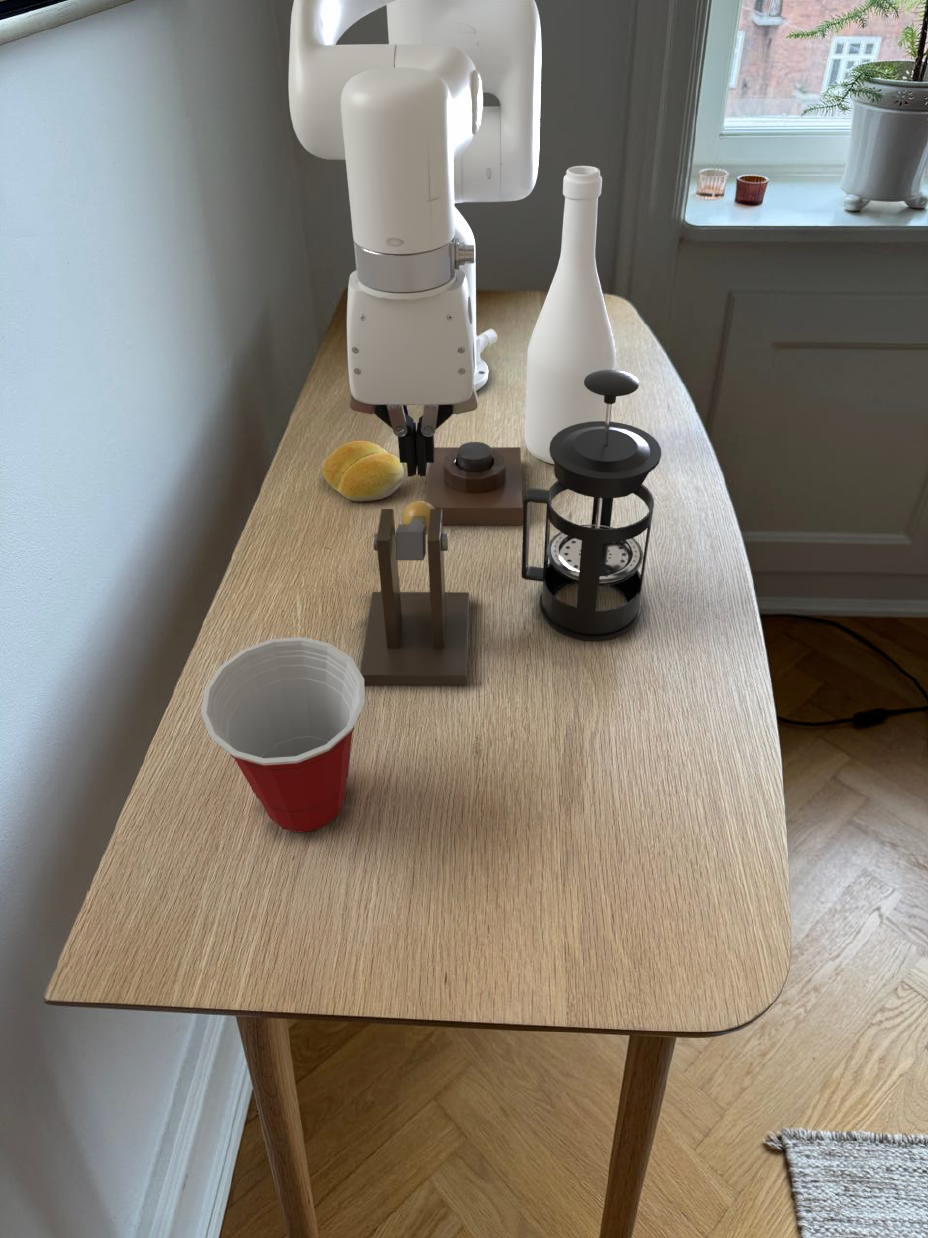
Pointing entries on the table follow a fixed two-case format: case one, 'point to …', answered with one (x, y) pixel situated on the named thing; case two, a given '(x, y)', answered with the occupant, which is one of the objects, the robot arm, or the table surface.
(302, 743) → the plastic cup
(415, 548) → the grey lever with knob
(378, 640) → the bracket
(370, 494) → the bread roll
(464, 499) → the button block
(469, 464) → the button
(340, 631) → the table surface
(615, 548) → the french press
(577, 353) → the wine bottle
